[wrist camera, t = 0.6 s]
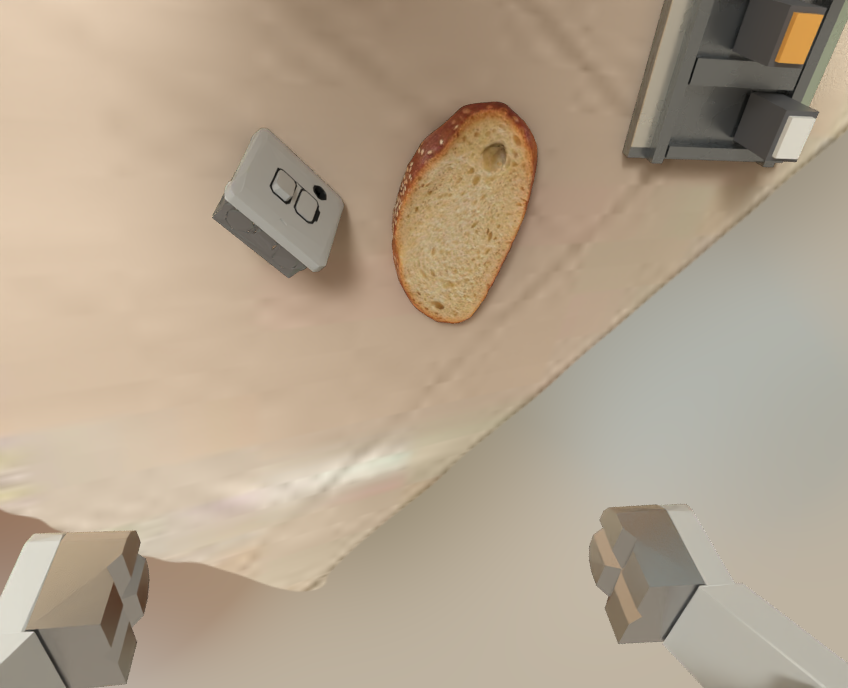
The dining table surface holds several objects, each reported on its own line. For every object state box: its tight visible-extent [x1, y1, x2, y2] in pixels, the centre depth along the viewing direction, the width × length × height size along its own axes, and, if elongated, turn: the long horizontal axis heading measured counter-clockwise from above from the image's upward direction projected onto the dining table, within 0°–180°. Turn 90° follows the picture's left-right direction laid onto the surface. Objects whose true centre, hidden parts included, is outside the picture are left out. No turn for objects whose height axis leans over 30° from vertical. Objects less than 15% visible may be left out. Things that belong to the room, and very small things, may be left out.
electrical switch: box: [212, 128, 344, 278], centre depth 50 cm, size 9×5×9 cm, turn 41°
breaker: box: [733, 92, 819, 162], centre depth 51 cm, size 4×3×6 cm
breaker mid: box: [732, 0, 827, 69], centre depth 46 cm, size 4×3×6 cm
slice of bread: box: [392, 102, 537, 324], centre depth 56 cm, size 18×18×4 cm
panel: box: [622, 0, 848, 167], centre depth 48 cm, size 22×15×2 cm
